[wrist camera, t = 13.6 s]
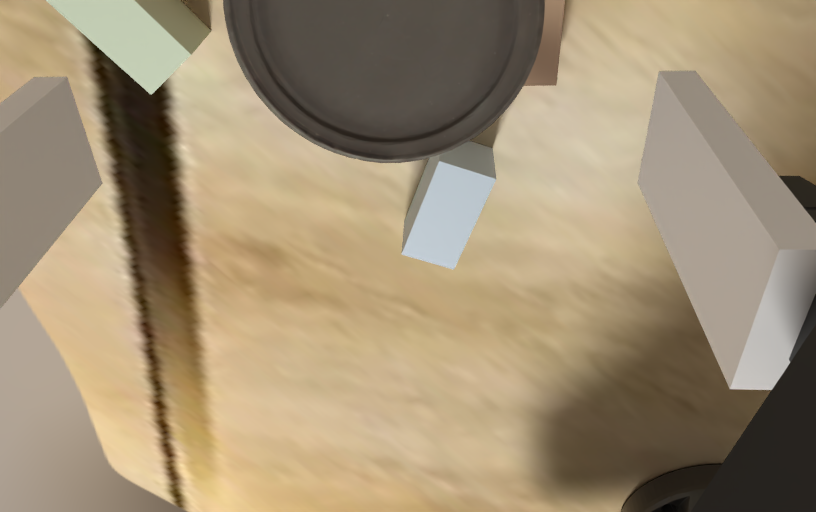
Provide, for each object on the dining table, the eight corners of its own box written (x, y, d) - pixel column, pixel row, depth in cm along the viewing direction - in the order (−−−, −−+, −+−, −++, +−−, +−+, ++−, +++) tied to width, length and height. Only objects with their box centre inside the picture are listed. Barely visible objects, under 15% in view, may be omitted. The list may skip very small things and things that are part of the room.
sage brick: (212, 30, 39) (191, 54, 36) (174, 67, 41) (151, 94, 38) (110, -72, 36) (77, -55, 33) (73, -27, 38) (38, -7, 35)
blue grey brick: (453, 234, 47) (453, 269, 44) (404, 219, 46) (401, 254, 43) (492, 147, 43) (496, 179, 40) (439, 130, 42) (439, 161, 39)
